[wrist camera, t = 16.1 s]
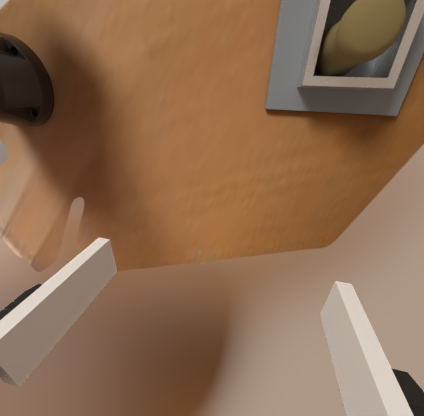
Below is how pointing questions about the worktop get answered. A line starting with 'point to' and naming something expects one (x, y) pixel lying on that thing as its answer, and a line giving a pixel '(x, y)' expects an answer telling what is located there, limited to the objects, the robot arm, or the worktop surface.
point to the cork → (360, 35)
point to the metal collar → (385, 63)
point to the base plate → (318, 97)
